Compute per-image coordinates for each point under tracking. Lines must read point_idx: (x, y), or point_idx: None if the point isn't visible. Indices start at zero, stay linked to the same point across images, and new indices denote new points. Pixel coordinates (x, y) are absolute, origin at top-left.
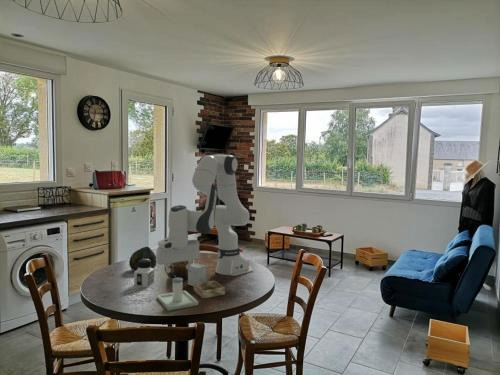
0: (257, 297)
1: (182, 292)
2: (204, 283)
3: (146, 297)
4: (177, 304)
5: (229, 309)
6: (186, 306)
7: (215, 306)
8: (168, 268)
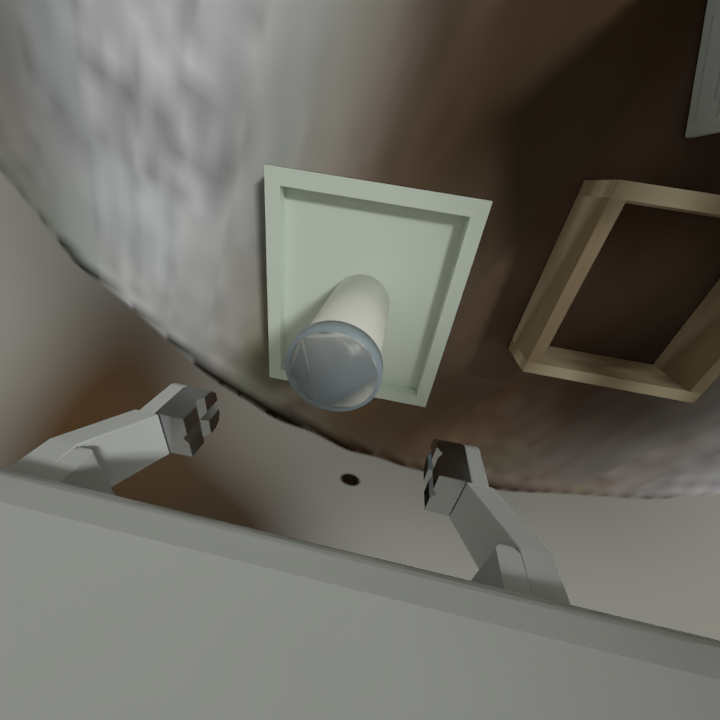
0: (715, 490)
1: (455, 214)
2: (714, 213)
3: (208, 84)
4: None
5: None
6: None
7: None
8: (156, 460)
